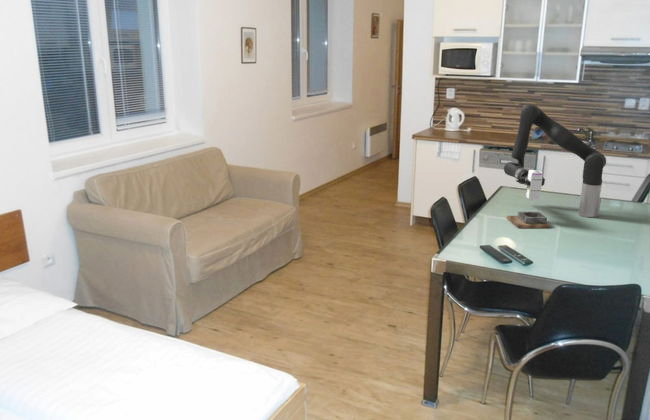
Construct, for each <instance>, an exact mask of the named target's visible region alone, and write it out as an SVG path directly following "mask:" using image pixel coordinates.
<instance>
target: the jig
mask: <svg viewBox="0 0 650 420" xmlns="http://www.w3.org/2000/svg"><path fill="white" fill-rule="evenodd" d="M506 220H507V221H509V222H510V223H511V224H512V225H514V227H516V228H517V229H550V228H551V225H550V224H549V223H547V221H548V217H547V216H545V214H542V212H539V211H518V212H517V215H506Z"/></svg>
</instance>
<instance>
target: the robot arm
mask: <svg viewBox="0 0 650 420" xmlns="http://www.w3.org/2000/svg"><path fill="white" fill-rule="evenodd" d="M519 118H520V119H519V125H518V131H517V135H516V138H515V141H514V145H513V147H512V151H511V158H512V159H515V160H517V162H512V161H510V162H509V161H508V162H506V163H505V164H504V166H503V171H504V174H506V175H507V176H509V177H513V178H515V182H517V183H518V184H520V185H525V186H527V185H528V186H530V184H531V182H530V181H529V180H528V172H529V170H530V169H527V168H525V156H526V153H527V150H528V146H529V139H530V133H531V129H532V126H533V125H535V126H536V127H538V128H539V129H540V130H541V131H543V132H544V133H545V135H546V136H547V137H548V138H549V139H550V140H551V141H552V142H553V143H555V145H557V146H559V147H560V148H561V149H563V150H565V151H567V152H569V153H572V154H574V155H577V156H578V157H579V158H580V159H582V160H583V161H584V164H583V170H582V184H581V192H580V197H579V205H578V210H577V211H578V212H577V214H578V215H579V216H581V217H584V218H585V217H586V218H598V217H600V215H599V214H600V208H601V204H602V203H601V202H602V199H601V192H602V185H603V172H604V168H605V166H606V164H607V158H606V156H605V155H604V154H603V153H601V152H600V151H598V150H596V149H594V148H593V147H591V146H590V145H588V144H587V143H585V142H584V141H583V140H582V139H581V138H579V136H577V135H576V134H575V133H573V132H572V131H571V130H569V129H568V128H566V127H565V126H563V125H562V124H560V123H559V122H557V121H555V120H554V119H552V118H551V117H549V116H548V115H547V114H546V113H545V112H544V111H543V110H541V109H540V107H538V106H537V105H535V104H527V105H525V106H523V108H521V111H520V117H519ZM545 181H546V179H545V178H544V177H543V176H542V185H541V187H543V186H545Z"/></svg>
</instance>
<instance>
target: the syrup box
mask: <svg viewBox="0 0 650 420" xmlns="http://www.w3.org/2000/svg"><path fill="white" fill-rule="evenodd" d="M528 170H529V172H528V180H529V181H530V182H531V184H530V186H528V185H526V193H525V198H526V199H528V200H529V201H540V200H541V193H542V186H541V185H542V177H543V172H542V171H541V170H539V169H528Z"/></svg>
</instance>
